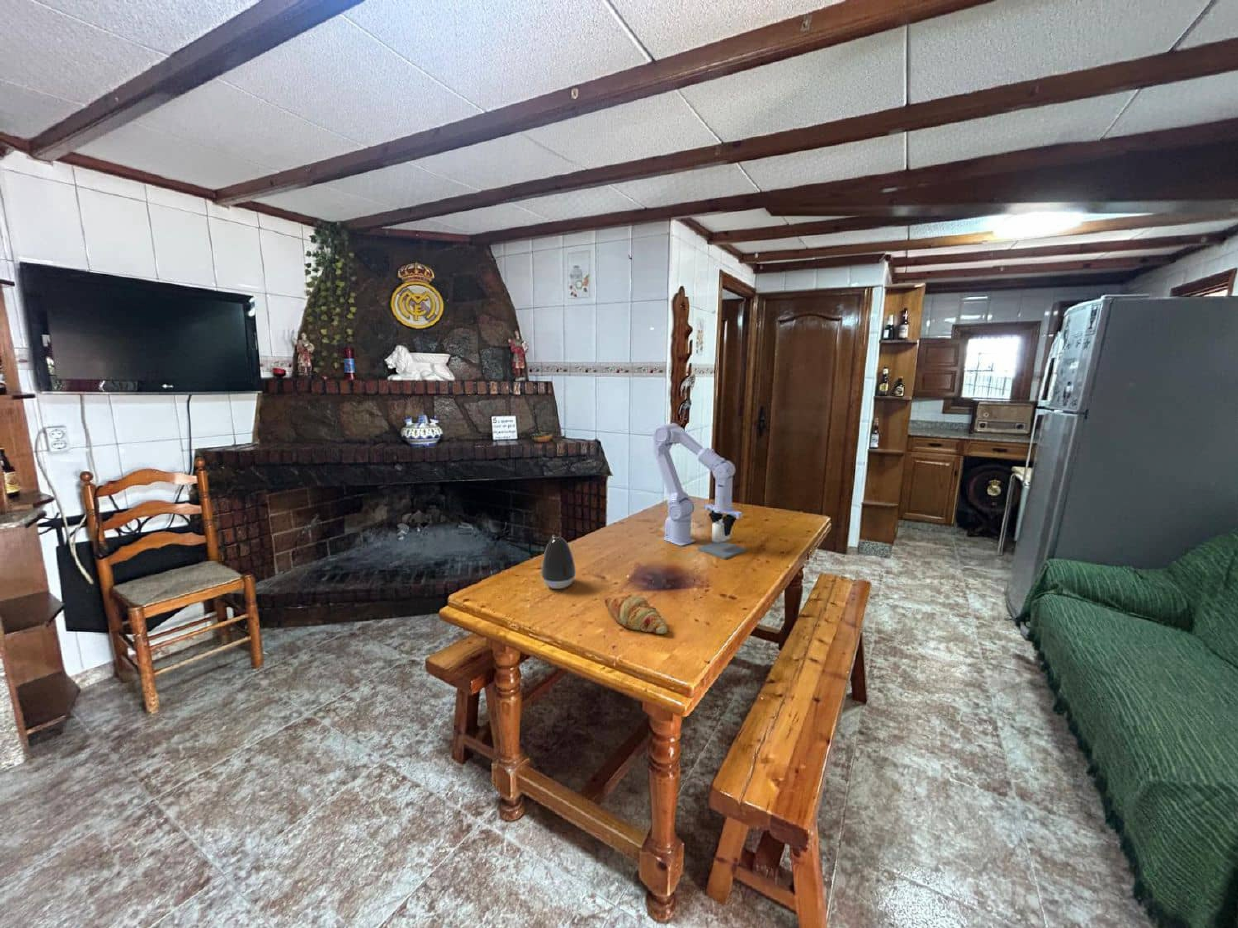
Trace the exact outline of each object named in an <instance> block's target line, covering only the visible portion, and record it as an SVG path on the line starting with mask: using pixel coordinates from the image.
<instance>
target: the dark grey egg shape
mask: <svg viewBox="0 0 1238 928" xmlns="http://www.w3.org/2000/svg"><path fill="white" fill-rule="evenodd" d="M545 547H546V548H545V551H544V555H543V557H542V558H543V559H542V563H541V577H542V578H543V581H544V583H545V585H546V586H547V587H549V588H551V589H556V590H561V589H565V588H567V587H569V586H570V585H572V583H573V581H574V580H575V576H576V573H577V571H576V570H577V569H576V564H575V559H574V557H573V553H572V550H571V547H570V546H569V544H568V542H567V541H566V540H565V538H562V537H561V536H556V535H555V534H552V535H551V539H550V540H549V542H548V544H547V545H546V546H545Z"/></svg>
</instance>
